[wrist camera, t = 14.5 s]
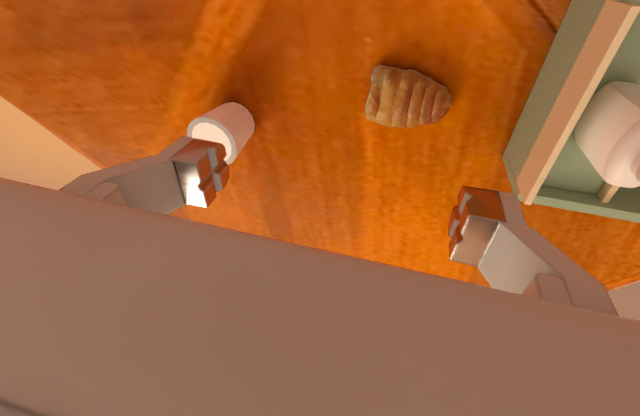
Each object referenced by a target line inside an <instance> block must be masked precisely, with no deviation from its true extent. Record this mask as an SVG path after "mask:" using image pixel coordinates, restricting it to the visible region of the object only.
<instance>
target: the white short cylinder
mask: <svg viewBox="0 0 640 416" xmlns="http://www.w3.org/2000/svg"><path fill="white" fill-rule="evenodd" d="M254 128H255V123H254V120H253V116H252V115H251V114H250V112H249V111H248V109H246V108H245V107H244V106H242V105H241V104H238V103H235V102H229V103H225V104H223V105H221V106H219V107H217V108H215V109H213V110H211V111H209V112H207V113H205V114H203V115H201V116H200V117H198V118H196V119H194V120H193V121H192V122H190V124H189V126H188V129H187V137H192V138H196V139H202V140H207V141H212V142H217V143H222V144H223V145H224V146H225V149H226V154H227V155H226V157H225V158H224V161H225V162H226V163H227V164H228V165H229V164H231V163H232V162H233V161H234V159H235V158H236V157H237V155H238V154H239V152H240V151H241V150H242V148H243V147H244V145H245V144H246V143H247V141H248V140H249V139H250V137H251V136H252V134H253V132H254Z"/></svg>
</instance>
